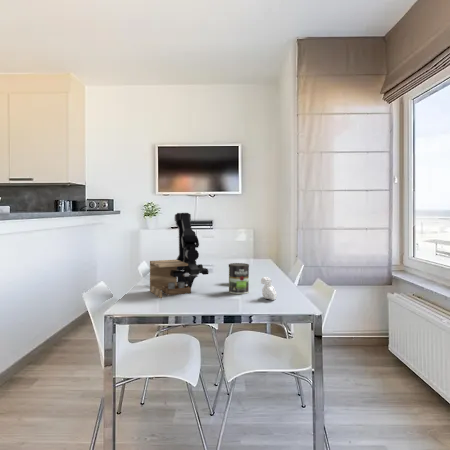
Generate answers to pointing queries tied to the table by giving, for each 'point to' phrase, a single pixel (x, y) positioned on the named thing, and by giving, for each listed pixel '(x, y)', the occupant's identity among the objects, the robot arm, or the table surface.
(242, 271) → the coffee can
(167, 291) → the tray
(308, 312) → the table surface
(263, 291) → the duck figurine
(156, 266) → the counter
